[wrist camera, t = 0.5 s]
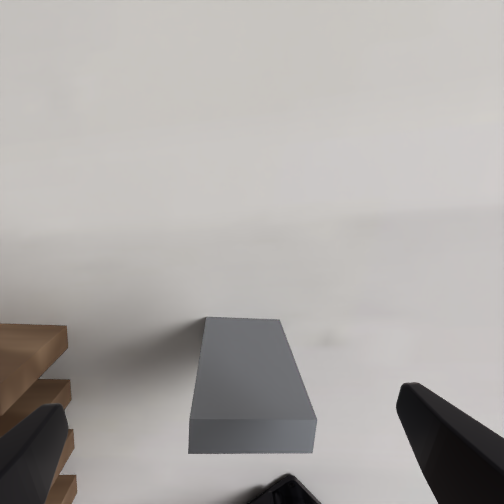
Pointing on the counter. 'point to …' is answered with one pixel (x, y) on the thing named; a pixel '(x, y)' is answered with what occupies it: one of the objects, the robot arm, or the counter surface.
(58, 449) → the robot arm
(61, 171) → the counter surface
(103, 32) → the counter surface
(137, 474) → the counter surface
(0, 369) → the domino
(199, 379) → the grey domino
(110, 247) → the counter surface
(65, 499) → the domino
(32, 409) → the domino
